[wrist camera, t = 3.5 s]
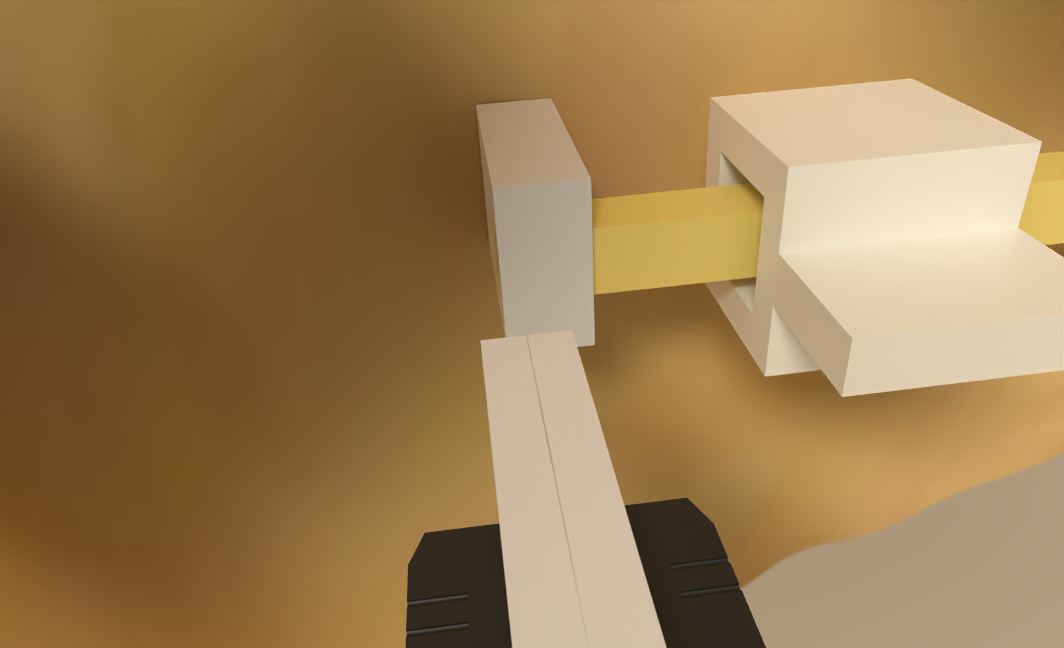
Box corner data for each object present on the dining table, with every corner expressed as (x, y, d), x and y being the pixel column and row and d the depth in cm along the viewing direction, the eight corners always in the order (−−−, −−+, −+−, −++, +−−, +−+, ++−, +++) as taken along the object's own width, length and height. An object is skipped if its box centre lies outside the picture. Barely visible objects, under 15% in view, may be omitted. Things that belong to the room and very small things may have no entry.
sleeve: (699, 275, 22) (828, 475, 15) (710, 97, 19) (870, 239, 12) (878, 255, 22) (1084, 442, 15) (911, 78, 19) (1176, 206, 13)
